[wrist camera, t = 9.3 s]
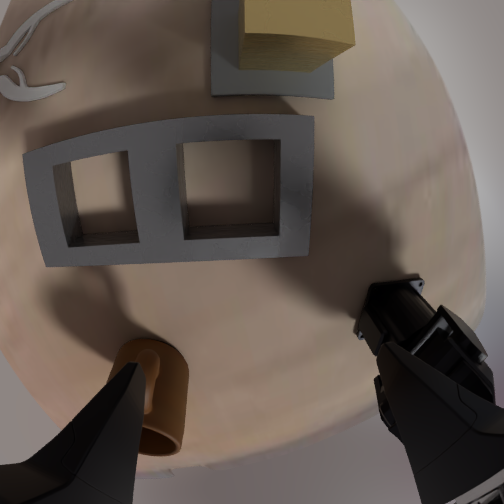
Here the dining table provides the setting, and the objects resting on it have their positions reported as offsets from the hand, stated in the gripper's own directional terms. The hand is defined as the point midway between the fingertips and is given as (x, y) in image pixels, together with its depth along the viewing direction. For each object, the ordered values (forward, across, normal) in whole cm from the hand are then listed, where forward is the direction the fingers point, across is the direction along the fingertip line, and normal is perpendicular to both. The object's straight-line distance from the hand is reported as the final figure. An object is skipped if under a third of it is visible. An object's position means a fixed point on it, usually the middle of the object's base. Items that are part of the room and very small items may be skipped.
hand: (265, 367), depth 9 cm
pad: (+12, -2, -14) cm, 19 cm away
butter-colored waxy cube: (+11, -2, -14) cm, 18 cm away
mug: (+12, +9, +11) cm, 19 cm away
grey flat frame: (+12, +6, -4) cm, 14 cm away
